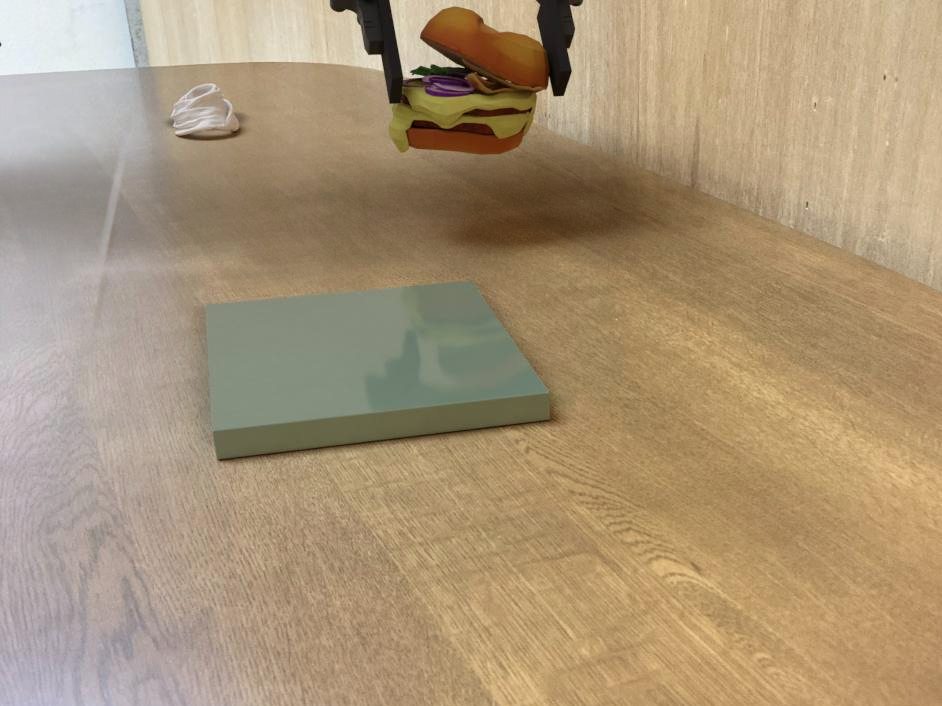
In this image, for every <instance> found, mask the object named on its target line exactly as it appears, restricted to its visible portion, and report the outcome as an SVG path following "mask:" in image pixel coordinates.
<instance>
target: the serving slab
mask: <svg viewBox="0 0 942 706" xmlns="http://www.w3.org/2000/svg"><path fill="white" fill-rule="evenodd" d="M204 312H205V327H206V329H205V330H206V346H207V347H206V348H207V363H208V382H209V398H210V401H209V402H210V417H211V432H212V439H213V445H214V450H215V456H216V459H217V460H227V459H235V458H242V457H250V456H259V455H268V454H275V453H277V454H278V453H283V452H284V453H285V452H292V451H293V452H294V451H301V450H308V449H316V448H318V449H319V448H327V447H335V446H342V445H343V446H344V445H352V444H359V443H366V442H367V443H368V442H375V441H383V440H393V439H399V438H401V439H402V438H409V437H419V436H424V435H425V436H426V435H434V434H443V433H450V432H451V433H452V432H459V431H468V430H475V429H485V428H491V427H501V426H510V425H516V424H517V425H518V424H525V423H534V422H535V423H536V422H541V421H542V422H543V421H549V420H551V392H550V391H549V389H548V388H547V387H546V385H545V383H544V382H543V380H542V379H541V377H540V376H539V375H538V374H537V372H536V370H535V369H534V367H532V365H531V363H530V362H529V361H528V359H527V358H526V356H525V355H524V354H523V352H522V351H521V350H520V349H521V348H520V347H519V346H518V345H517V344H516V342H515V340H514V339H513V337H512V336H511V335H510V334H509V332H508V330H507V329H506V328H505V326H504V325H503V324H502V322H501V321H500V319H499V317H498V316H497V315H496V313H495V312H494V311H493V309H492V308H491V306H490V305H489V304H488V302H487V301H486V299H485V298H484V296H483V295H482V293H481V291H480V290H479V289H478V288H477V286H476V285H475V283H474V282H473V280H459V281H449V282H439V283H438V282H437V283H428V284H427V283H426V284H417V285H415V284H414V285H405V286H396V287H382V288H373V289H372V288H371V289H361V290H351V291H338V292H328V293H327V292H326V293H318V294H317V293H316V294H305V295H295V296H283V297H273V298H261V299H251V300H240V301H231V302H229V301H227V302H217V303H207V304H205V305H204Z"/></svg>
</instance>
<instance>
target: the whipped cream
mask: <svg viewBox="0 0 942 706" xmlns="http://www.w3.org/2000/svg"><path fill="white" fill-rule="evenodd" d="M224 97H225V94H224V93H221V89H220V87H218V86H217V85H216V84H215V83H203V84H200V85H196V86H194V87H193V88H192V89H191V90H189V91H188V92H187V93H185V94H184V95H182V96H181V97H180V98H179V100H178V101H176V102H175V103H174V104H173V105H172V106H173V111H172V113H171V115H170V118H171V119H172V120H173V122H174V123H173V128H175V129H176V130H175V131H174V134H175V135H176V136H186V135H190V134H192V133H196V132H197V133H198V132H202V133H203V132H206V131H211V130H213V129H215V130H220V131H221V130H223V131H224V132H233V133H234V132H236V131H238V130H239V129H240V122H239V120H238V118H237V116H236V115H235V113H234V108H233V105H232V104H231V101H229V100H228V99H227V98H224Z"/></svg>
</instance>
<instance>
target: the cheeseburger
mask: <svg viewBox="0 0 942 706" xmlns="http://www.w3.org/2000/svg"><path fill="white" fill-rule="evenodd" d="M419 39H420V40H421V41H422V42H423V43H424V44H426V45H427V46H428V47H430V48H432V49H433V50H434V51H436V52H437V53H439V54H441V55H442V56H443V57H445V58H447V59H448V60H450V61H451V62H453V63H454V64H455V65H458V66H439V65H436V64H433V63H431V64H430V66H429V67H427V66H424V65H419V66H418V67H416V68H415V69H412V70H410V71H409V74H411V76H415V75H417V76H422V77H414V78H407V79H403V86H402V94H401V103H397V104H392V106H391V111H392V115H393V117H392V120H390V122H389V124H388V135H389V137H390V139H391V140H392V142H393V143H394V146H395V147H396V148H397V150H398V151H399V152H400V153H401V154H403V153H406V152H407V151H408V150H409V149H410V148H413V149H416V150H425V151H426V150H427V151H444V152H456V153H457V152H458V153H464V154H472V155H479V156H483V155H485V156H486V155H488V156H489V155H502V154H504V153H508V152H510V151H513V150H514V149H517V148H518V147H520V145H521V144H522V142H523V138H524V137H525V136H526V135H527V134H528V133H529V131H530V129H531V126H532V124H533V121H534V115H535V113H536V108H537V99H538V95H537V94H538V93H539V92H542V91H546V90H547V89H548V87H549V83H550V78H549V73H550V69H549V63H548V57H547V52H546V51H545V49H544V48H543V45H542V42H541V41H539V40H536V39H535V38H533V37H531V36H528V35H526V34H522V33H517V32H513V31H499V30H497V29H495V28H494V27H491V26H490V25H488V24H486V23H485V21H484V18H483V17H482V16H481V15H480V14H478V13H477V12H475V11H474V10H472V9H468V8H466V7H460V6H455V5H453V6H450V7H447V8H442V9H441V10H439V12H438V13H436V14H435V15H434V16H433V17H431V19H429V20H428V21H427V23H426V24H425V26H424V27H423V29H422V30H421V32H420V35H419ZM460 66H461V67H460Z"/></svg>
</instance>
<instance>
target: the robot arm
mask: <svg viewBox="0 0 942 706" xmlns="http://www.w3.org/2000/svg"><path fill="white" fill-rule="evenodd" d="M535 2H537V3H538V5H539V7H538V10H537V14H536V21H537V26H538V31H539V35H540V40H541V45H542V46H543V48H544V49H545V51H546V52H547V57H548V63H549V69H550V73H549V83H550V87H551V93H552V96H553V97H555V98H556V97H564V96H565V94H566V92H567V88H568V85H569V82H570V79H571V76H572V72H573V69H572V65H571V60H570V56H569V51H568V50H569V49H570V48H571V47H572V42H573V39H574V36H575V32H576V26H575V21H574V17H573V12H572V8H571V6H572V7H575V8H576V7H577V8H578V7H580V6H582V4H583V3H584V0H535ZM329 7H330V9H331V10H332V11H334V12H336V13H343V12H345V11H351V12H353V13H354V14H356V23H358V25H359V26H360V31H361V37H362V42H363V48H364V50H365V52H366V53H367V55H368V56H377V55H378V56H380V57H381V63H382V64H381V65H382V69H383V75H384V80H385V87H386V91H387V92H386V93H387V97H388V103H389V105H393V104H397V103H401V94H402V86H403V80H404V74H403V68H402V63H401V57H400V50H399V45H398V41H397V34H396V29H395V22H394V18H393V13H392V7H391V2H390V0H329ZM0 47H2V42H1V41H0Z"/></svg>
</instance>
